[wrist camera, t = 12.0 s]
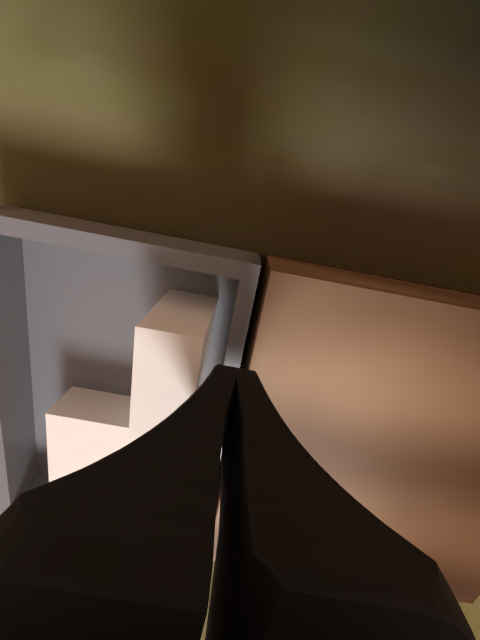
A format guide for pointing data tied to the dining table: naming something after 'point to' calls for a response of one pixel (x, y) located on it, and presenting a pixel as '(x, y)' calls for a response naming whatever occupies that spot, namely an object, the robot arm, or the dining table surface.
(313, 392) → the board
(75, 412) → the tile
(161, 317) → the tile
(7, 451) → the tray
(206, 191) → the dining table surface
